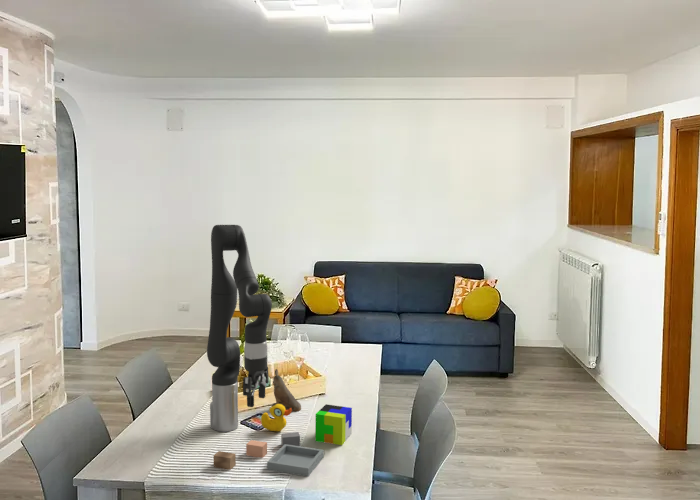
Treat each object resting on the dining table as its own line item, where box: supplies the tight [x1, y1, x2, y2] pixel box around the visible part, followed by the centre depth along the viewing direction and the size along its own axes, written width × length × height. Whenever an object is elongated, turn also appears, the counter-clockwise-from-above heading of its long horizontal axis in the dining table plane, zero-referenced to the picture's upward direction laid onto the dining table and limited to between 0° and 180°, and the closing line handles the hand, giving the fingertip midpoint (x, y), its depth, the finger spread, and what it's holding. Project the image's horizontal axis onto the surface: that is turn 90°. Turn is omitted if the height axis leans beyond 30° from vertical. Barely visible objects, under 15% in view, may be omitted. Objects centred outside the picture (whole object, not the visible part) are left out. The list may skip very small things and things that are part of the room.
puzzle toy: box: [314, 404, 353, 446], centre depth 224 cm, size 10×10×10 cm
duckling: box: [260, 404, 292, 432], centre depth 230 cm, size 11×5×10 cm, turn 82°
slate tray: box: [266, 444, 325, 477], centre depth 204 cm, size 14×14×3 cm
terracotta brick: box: [245, 439, 268, 459], centre depth 211 cm, size 6×4×4 cm, turn 72°
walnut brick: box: [212, 450, 237, 471], centre depth 202 cm, size 6×4×4 cm, turn 72°
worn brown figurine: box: [270, 368, 302, 413], centre depth 251 cm, size 12×6×18 cm, turn 81°
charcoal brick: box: [280, 431, 301, 447], centre depth 218 cm, size 6×4×4 cm, turn 104°
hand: (256, 402), depth 209 cm, fingers open, 8 cm apart
